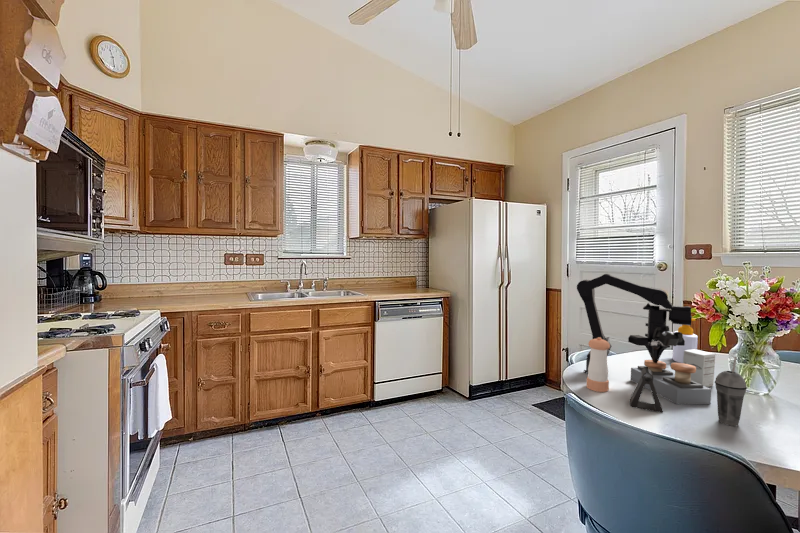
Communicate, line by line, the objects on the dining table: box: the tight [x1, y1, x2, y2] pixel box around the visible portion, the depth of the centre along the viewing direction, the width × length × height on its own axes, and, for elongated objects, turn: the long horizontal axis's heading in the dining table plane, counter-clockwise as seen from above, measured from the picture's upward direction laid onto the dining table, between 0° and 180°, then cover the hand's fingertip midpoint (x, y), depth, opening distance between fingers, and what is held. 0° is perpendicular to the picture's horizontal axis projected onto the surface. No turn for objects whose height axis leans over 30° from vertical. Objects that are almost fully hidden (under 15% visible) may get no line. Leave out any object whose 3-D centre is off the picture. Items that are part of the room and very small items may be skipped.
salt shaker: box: [586, 337, 611, 393], centre depth 139 cm, size 7×7×19 cm
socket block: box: [630, 365, 712, 405], centre depth 137 cm, size 12×23×6 cm, turn 3°
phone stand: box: [629, 368, 664, 414], centre depth 123 cm, size 9×6×12 cm, turn 60°
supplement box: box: [683, 348, 716, 388], centre depth 145 cm, size 7×7×13 cm
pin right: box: [670, 362, 696, 384], centre depth 131 cm, size 7×7×6 cm
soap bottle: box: [672, 318, 699, 363], centre depth 175 cm, size 13×8×20 cm, turn 164°
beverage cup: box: [714, 356, 748, 427], centre depth 112 cm, size 7×7×20 cm
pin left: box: [643, 359, 667, 372], centre depth 144 cm, size 7×7×6 cm
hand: (655, 362), depth 144 cm, fingers closed, pressing on pin left
